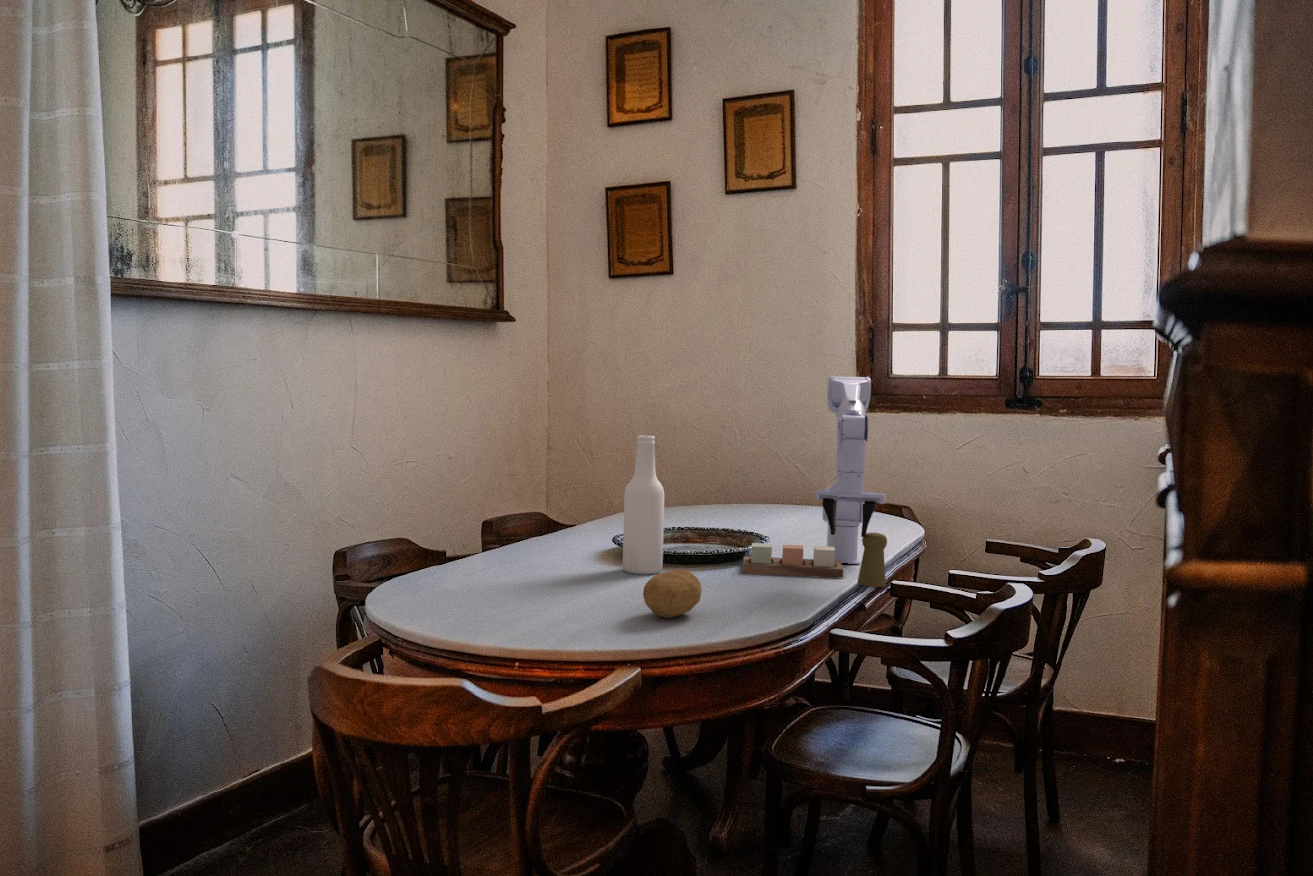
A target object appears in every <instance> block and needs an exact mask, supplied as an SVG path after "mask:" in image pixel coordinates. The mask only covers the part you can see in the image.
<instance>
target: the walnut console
mask: <svg viewBox="0 0 1313 876" xmlns="http://www.w3.org/2000/svg"><path fill="white" fill-rule="evenodd" d="M742 574H746V575H747V574H750V575H768V576H770V575H772V576H787V575H791V576H793V577H807V576H819V577H818V578H828V577H843V578H844V567H843V565H842V564H841V561H837V560H835V567H827V566H814V564H813V558H811V559H810V558H803V565H785V564H782V557H772V556H771V564H764V563H751V556H749V555H748V556H747V555H744V556H743V562H742Z"/></svg>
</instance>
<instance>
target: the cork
mask: <svg viewBox="0 0 1313 876" xmlns="http://www.w3.org/2000/svg"><path fill="white" fill-rule="evenodd" d="M861 541H862V546H863V549H864V550H863V553H862V557H861V558H862V559H861V562H860V567H859V568H860V569H859V572H858V573H859V574H858V578H857V584H858V585H860V586H864V587H873V588H884V587H886V585H887V583H886V567H885V566H886V564H885V549H886V547H887V544H888V538H887V536H886V535H885V534H883V533H881V532H866V536H865V537H862V540H861Z"/></svg>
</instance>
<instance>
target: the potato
mask: <svg viewBox="0 0 1313 876" xmlns="http://www.w3.org/2000/svg"><path fill="white" fill-rule="evenodd" d="M642 596H643V601H644V603H645V604H646V606H647V607H648V608H649V610H650V611H651V612H652V613H653V614H654V615H655V614H656V615H658V616H660V617H662V618H664V619H672V617H673V618H676V617H679V616H680V615H683V614H686V613H688V612H690V611H691V610H693V609H694V607H695V606H696V605H697V604H698V603H699V602H700V601H701V596H702V585H701V582H700V580H699V578H698V577H697V576H696V575H695V574H694V573H692V572H691V571H689V570H686V569H683V568H682V569H680V568H679V569H674V570H669V571H665V572H659V573H657V574H654V576H652V577H651V578H650V579H649V580H648V581H647V582H646V583H645V585H644V587H643V592H642Z"/></svg>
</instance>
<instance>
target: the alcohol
mask: <svg viewBox="0 0 1313 876" xmlns="http://www.w3.org/2000/svg"><path fill="white" fill-rule="evenodd" d="M636 439H637V440H636V444H637V445H636V454H635V465H634V474H633V476H632V478H631V480H630V481H629V482H628V483H627V484H626V486H625V490H624V496H623V497H624V498H623V499H624V500H623V501H624V503H623V506H624V507H623V531H622V532H623V535H622V537H623V539H622V542H623V543H622V569H623V571H624V572H625V573H626V574H631V575H636V576H637V575H638V576H640V575H642V576H650V575H657V574H660V573H661V570H662V569H663V564H664V563H663V560H664V527H665V526H664V524H665V523H664V521H665V490H664V486H663V484H662V483H661V482H660V481H659V480H658V476H657V473H656V458H655V457H656V455H655V454H656V453H655V444H656V441H655V439H656V437H655V435H648V434H647V435H646V434H645V435H644V434H643V435H637V437H636Z"/></svg>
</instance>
